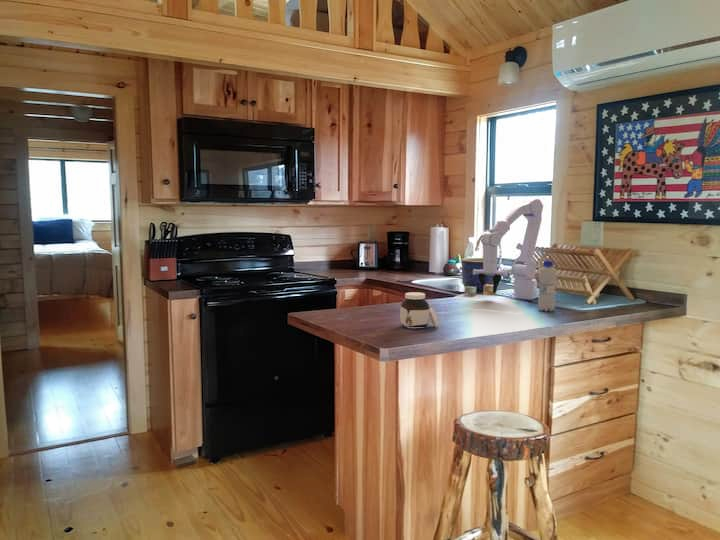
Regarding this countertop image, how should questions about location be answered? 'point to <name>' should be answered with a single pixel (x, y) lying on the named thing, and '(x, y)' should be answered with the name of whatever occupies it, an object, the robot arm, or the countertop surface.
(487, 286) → the maple cube
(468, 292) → the sage base cube
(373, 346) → the countertop surface
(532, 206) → the robot arm
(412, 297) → the spread jar
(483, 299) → the white rectangular panel
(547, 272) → the bottle
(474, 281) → the planter
